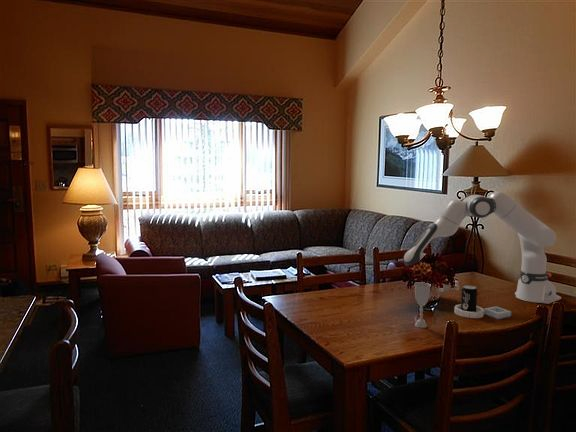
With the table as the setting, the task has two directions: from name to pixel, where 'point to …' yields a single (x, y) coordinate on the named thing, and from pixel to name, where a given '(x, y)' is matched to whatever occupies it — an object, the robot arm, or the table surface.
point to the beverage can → (469, 298)
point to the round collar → (477, 314)
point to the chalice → (422, 300)
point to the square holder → (497, 312)
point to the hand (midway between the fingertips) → (451, 289)
